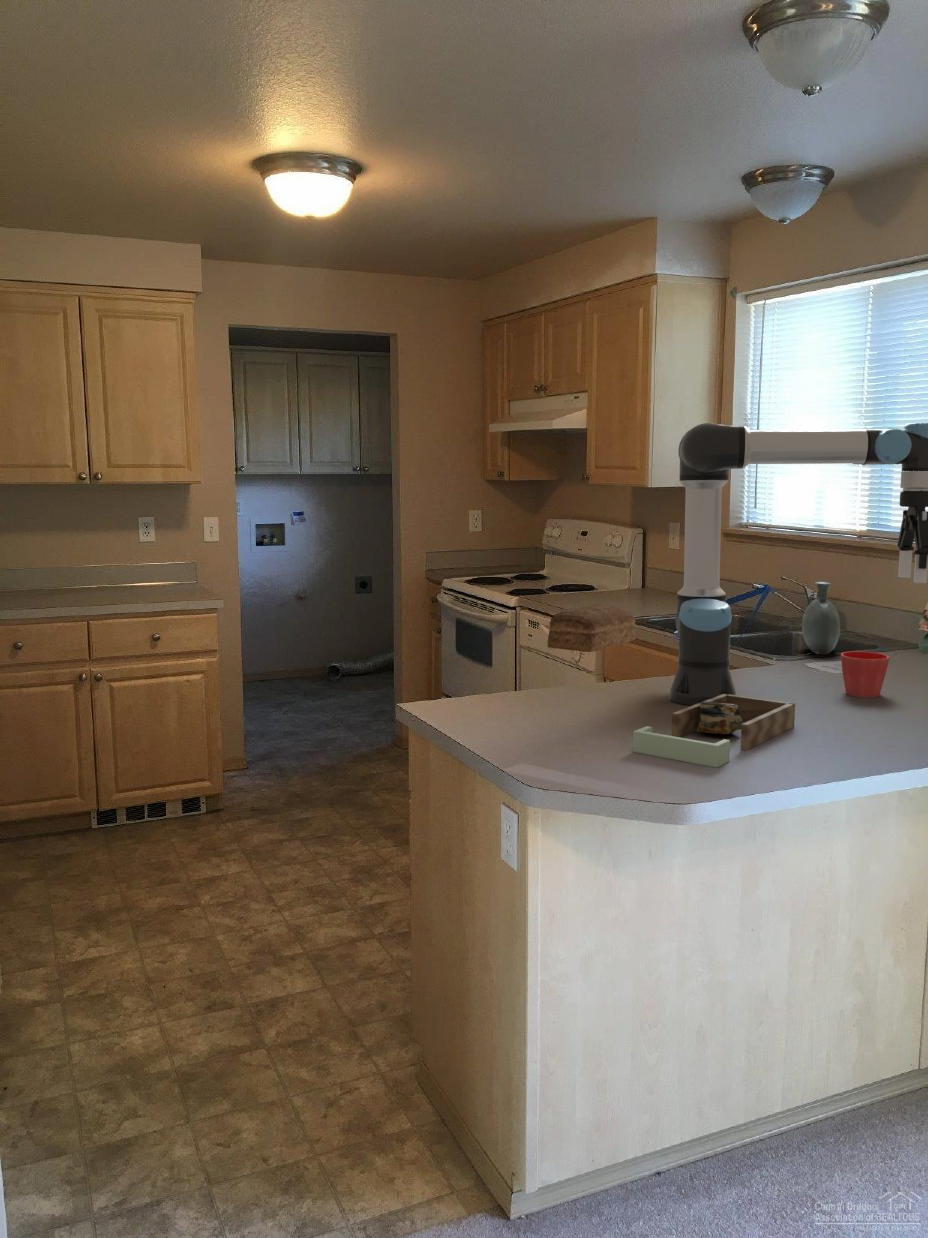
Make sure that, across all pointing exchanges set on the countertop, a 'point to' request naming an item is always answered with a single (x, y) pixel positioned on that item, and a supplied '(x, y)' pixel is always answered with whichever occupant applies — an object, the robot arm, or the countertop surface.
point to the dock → (681, 748)
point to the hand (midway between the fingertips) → (912, 580)
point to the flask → (821, 623)
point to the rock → (719, 718)
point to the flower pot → (864, 672)
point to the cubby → (759, 714)
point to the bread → (591, 628)
